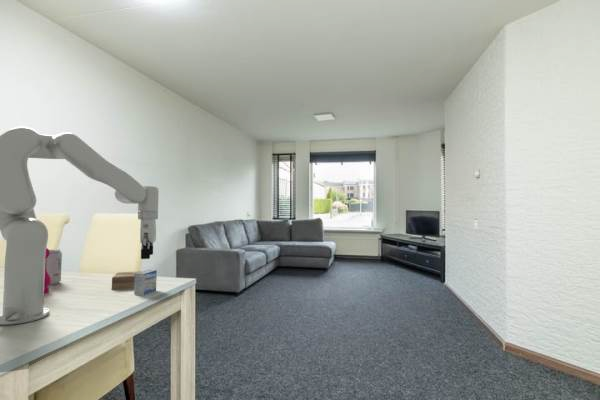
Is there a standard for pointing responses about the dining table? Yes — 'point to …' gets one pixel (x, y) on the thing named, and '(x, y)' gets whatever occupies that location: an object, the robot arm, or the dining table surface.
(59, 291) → the dining table surface
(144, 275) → the medicine box
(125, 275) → the walnut plinth
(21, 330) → the dining table surface
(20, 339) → the dining table surface
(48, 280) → the pepper mill
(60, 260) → the grey upright box
